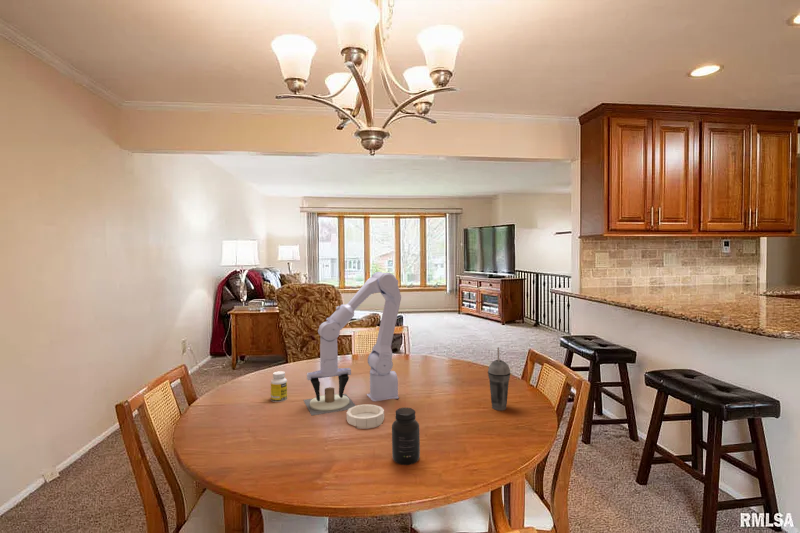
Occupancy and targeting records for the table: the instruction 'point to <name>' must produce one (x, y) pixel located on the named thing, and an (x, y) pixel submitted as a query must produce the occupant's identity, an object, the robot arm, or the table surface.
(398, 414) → the supplement bottle
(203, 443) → the table surface
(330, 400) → the lid
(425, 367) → the table surface
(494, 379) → the beverage cup
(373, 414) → the bowl
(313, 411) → the mat
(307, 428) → the table surface
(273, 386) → the supplement bottle
